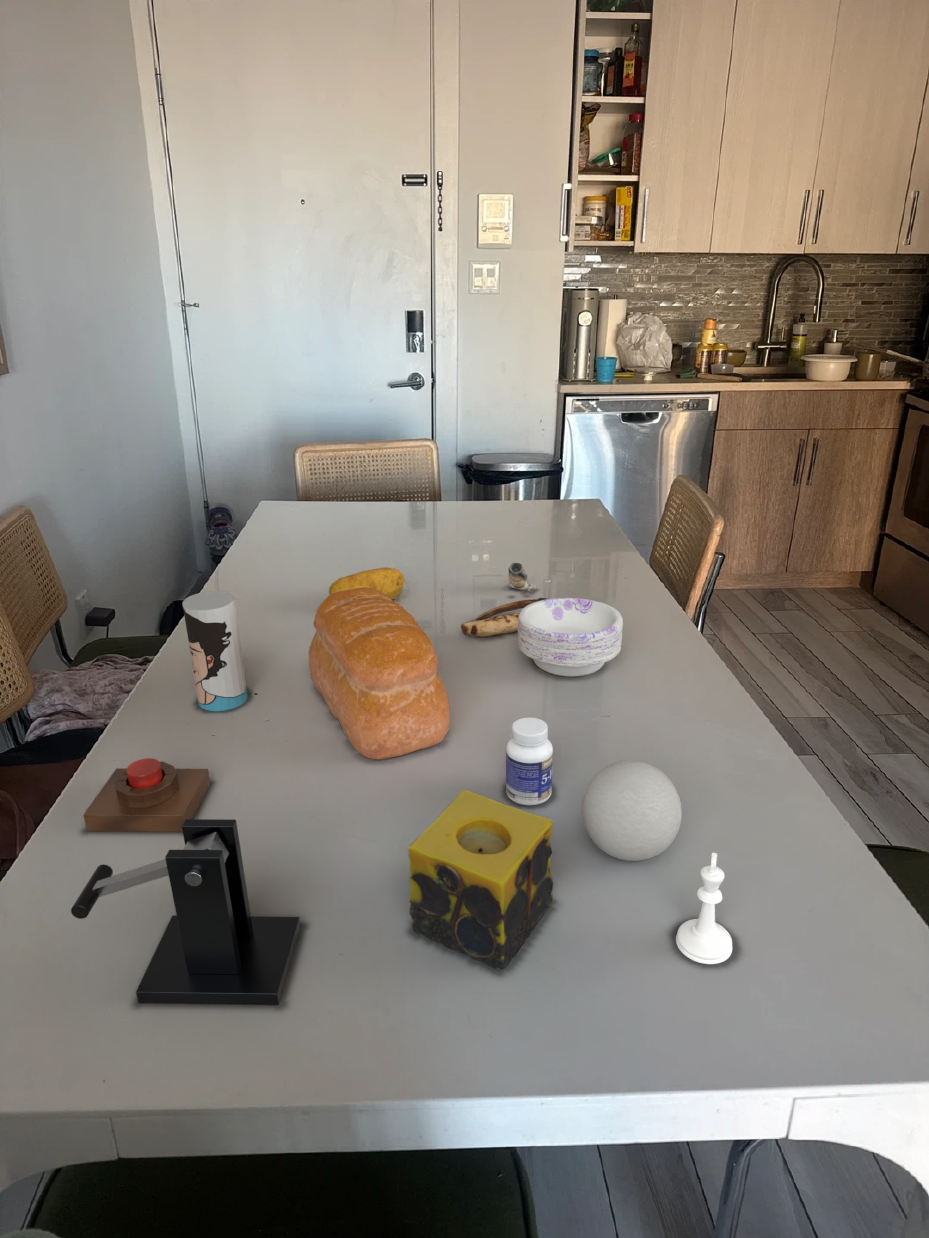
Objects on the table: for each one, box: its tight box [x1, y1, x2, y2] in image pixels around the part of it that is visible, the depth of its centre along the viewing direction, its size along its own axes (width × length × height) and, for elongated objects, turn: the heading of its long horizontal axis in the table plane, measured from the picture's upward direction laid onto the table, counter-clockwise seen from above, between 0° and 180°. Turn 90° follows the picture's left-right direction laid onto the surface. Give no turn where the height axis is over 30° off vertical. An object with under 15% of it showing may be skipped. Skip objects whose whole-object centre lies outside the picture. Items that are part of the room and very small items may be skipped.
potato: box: [328, 566, 406, 601], centre depth 150 cm, size 8×14×7 cm, turn 118°
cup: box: [182, 590, 249, 712], centre depth 119 cm, size 7×7×15 cm
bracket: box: [135, 818, 301, 1006], centre depth 75 cm, size 12×9×14 cm
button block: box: [83, 761, 212, 833], centre depth 98 cm, size 11×9×4 cm
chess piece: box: [675, 852, 733, 965], centre depth 77 cm, size 5×5×10 cm
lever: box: [70, 832, 229, 920], centre depth 74 cm, size 13×5×2 cm, turn 88°
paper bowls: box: [517, 597, 624, 678], centre depth 128 cm, size 15×15×8 cm
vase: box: [504, 562, 537, 592], centre depth 155 cm, size 5×5×6 cm
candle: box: [407, 789, 554, 971], centre depth 80 cm, size 10×10×10 cm
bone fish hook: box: [460, 597, 548, 638], centre depth 141 cm, size 9×5×18 cm
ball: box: [581, 760, 683, 862], centre depth 89 cm, size 10×10×10 cm
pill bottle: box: [505, 717, 554, 806], centre depth 98 cm, size 5×5×9 cm
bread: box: [308, 587, 451, 760], centre depth 115 cm, size 14×26×15 cm, turn 24°
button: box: [126, 757, 163, 788], centre depth 97 cm, size 4×4×2 cm
